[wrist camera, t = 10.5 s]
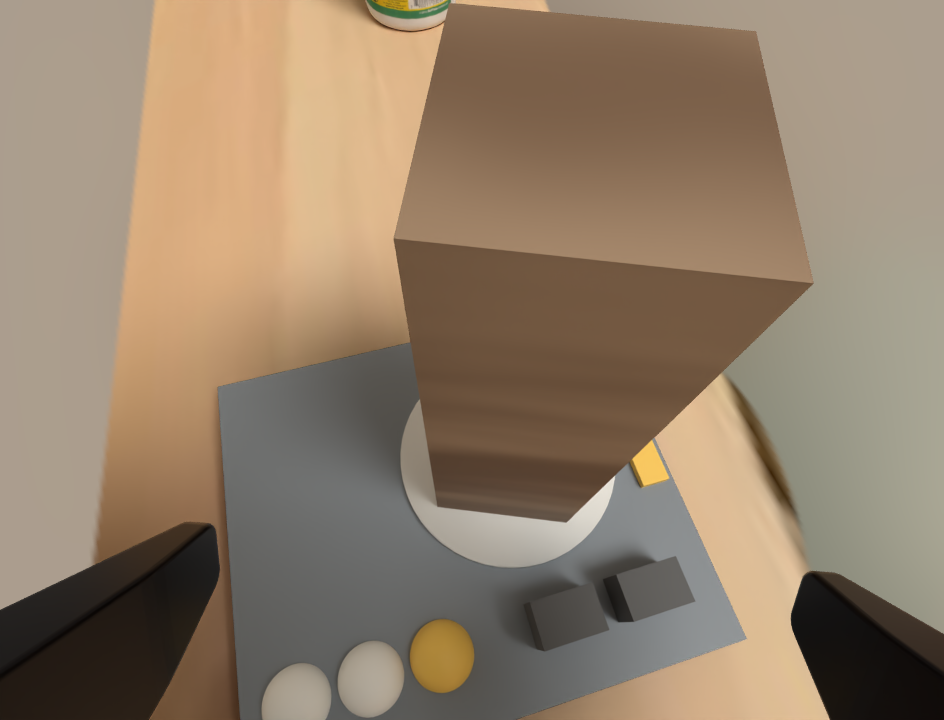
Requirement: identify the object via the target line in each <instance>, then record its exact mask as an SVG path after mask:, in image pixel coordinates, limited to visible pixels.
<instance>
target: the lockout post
mask: <svg viewBox="0 0 944 720" xmlns="http://www.w3.org/2000/svg"><path fill="white" fill-rule="evenodd" d="M394 243H395V249H396V256H397V262H398V268H399V274H400V280H401V286H402V292H403V299H404V305H405V311H406V317H407V323H408V329H409V335H410V342H411V348H412V354H413V360H414V366H415V372H416V378H417V385H418V391H419V397H420V403H421V409H422V415H423V422H424V428H425V434H426V440H427V446H428V452H429V458H430V465H431V471H432V477H433V483H434V489H435V495H436V501H437V507H441V508H450V509H458V510H466V511H474V512H482V513H491V514H499V515H507V516H515V517H523V518H531V519H540V520H548V521H556V522H564V523H567V522H568V521H569V520H570V519H571V518H572V517H573V516H574V515H575V514H576V513H577V512H578V511H579V510H580V509H581V508H582V507H583V506H584V505H585V504H586V503H587V502H588V501H589V500H590V499H591V498H592V497H593V496H595V495H596V494H597V493H598V492H599V491H600V490H601V489H602V488H603V487H604V486H605V485H606V484H607V483H608V482H609V481H610V480H611V479H612V478H613V477H614V476H615V475H616V474H617V473H618V472H619V471H620V470H621V469H622V468H623V467H624V466H626V465H627V464H628V463H629V462H630V461H631V460H632V459H633V458H634V457H635V456H636V455H637V454H638V453H639V452H640V451H641V450H642V449H643V448H644V447H645V446H646V445H647V444H648V443H649V442H650V441H651V440H652V439H653V438H654V437H655V436H656V435H658V434H659V433H660V432H661V431H662V430H663V429H664V428H665V427H666V426H667V425H668V424H669V423H670V422H671V421H672V420H673V419H674V418H675V417H676V416H677V415H678V414H679V413H680V412H681V411H682V410H683V409H684V408H685V407H686V406H687V405H689V404H690V403H691V402H692V401H693V400H694V399H695V398H696V397H697V396H698V395H699V394H700V393H701V392H702V391H703V390H704V389H705V388H706V387H707V386H708V385H709V384H710V383H711V382H712V381H713V380H714V379H715V378H716V377H717V376H718V375H719V374H721V373H722V372H723V371H724V370H725V369H726V368H727V367H728V366H729V365H730V364H731V363H732V362H733V361H734V360H735V359H736V358H737V357H738V356H739V355H740V354H741V353H742V352H743V351H744V350H745V349H746V348H747V347H748V346H749V345H750V344H751V343H753V342H754V341H755V339H757V338H758V337H759V336H760V335H761V334H762V333H763V332H764V331H765V330H766V329H767V328H768V327H769V326H770V325H771V324H772V323H773V322H774V321H775V320H776V319H777V318H778V317H779V316H780V315H781V314H782V313H783V312H785V311H786V310H787V309H788V308H789V307H790V306H791V305H792V304H793V303H794V302H795V301H796V300H797V299H798V298H799V297H800V296H801V295H802V294H803V293H804V292H805V291H806V290H807V289H808V288H809V287H810V286H811V285H812V284H813V278H812V274H811V269H810V265H809V261H808V257H807V252H806V248H805V244H804V239H803V235H802V230H801V226H800V221H799V217H798V213H797V209H796V204H795V200H794V195H793V191H792V187H791V182H790V178H789V174H788V169H787V165H786V160H785V156H784V152H783V148H782V143H781V139H780V134H779V130H778V125H777V121H776V117H775V113H774V108H773V104H772V100H771V95H770V91H769V86H768V82H767V78H766V74H765V69H764V65H763V60H762V56H761V51H760V47H759V43H758V39H757V34H756V31H745V30H735V29H724V28H713V27H702V26H692V25H681V24H670V23H659V22H648V21H638V20H627V19H616V18H605V17H595V16H584V15H573V14H563V13H552V12H541V11H530V10H520V9H509V8H498V7H487V6H477V5H466V4H455V3H449V6H448V10H447V14H446V19H445V23H444V27H443V31H442V36H441V40H440V44H439V48H438V53H437V57H436V61H435V65H434V70H433V74H432V78H431V82H430V87H429V91H428V95H427V99H426V103H425V108H424V112H423V116H422V120H421V125H420V129H419V133H418V137H417V142H416V146H415V150H414V154H413V159H412V163H411V167H410V171H409V176H408V180H407V184H406V188H405V193H404V197H403V201H402V205H401V210H400V214H399V218H398V222H397V227H396V231H395V235H394Z"/></svg>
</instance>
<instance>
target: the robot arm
mask: <svg viewBox="0 0 944 720" xmlns="http://www.w3.org/2000/svg"><path fill="white" fill-rule="evenodd" d="M219 571H220V565H219V555H218V546H217V536H216V530H215V528H214V526H213V525H211V524H209V523H198V522H184V523H182V524H180V525H177V526H175V527H173V528H171V529H169V530H167V531H165V532H163V533H161V534H159V535H156V536H154V537H152V538H150V539H148V540H146V541H144V542H142V543H140V544H138V545H135V546H133V547H131V548H129V549H127V550H125V551H123V552H121V553H119V554H117V555H114V556H112V557H110V558H108V559H106V560H104V561H102V562H100V563H98V564H96V565H93V566H91V567H89V568H87V569H85V570H83V571H81V572H79V573H77V574H75V575H73V576H70V577H68V578H66V579H64V580H62V581H60V582H58V583H56V584H54V585H51V586H49V587H47V588H45V589H43V590H41V591H39V592H37V593H35V594H33V595H31V596H28V597H26V598H24V599H22V600H20V601H18V602H16V603H14V604H12V605H9V606H7V607H5V608H3V609H1V610H0V720H149V718H150V716H151V715H152V713H153V711H154V710H155V708H156V706H157V705H158V703H159V701H160V699H161V698H162V696H163V694H164V692H165V690H166V689H167V687H168V685H169V683H170V681H171V679H172V677H173V675H174V673H175V671H176V669H177V667H178V665H179V663H180V661H181V659H182V657H183V655H184V653H185V650H186V648H187V646H188V644H189V642H190V640H191V638H192V636H193V633H194V631H195V629H196V627H197V625H198V623H199V621H200V618H201V616H202V614H203V612H204V610H205V608H206V606H207V604H208V601H209V599H210V597H211V595H212V593H213V591H214V589H215V587H216V584H217V581H218V578H219ZM791 626H792V630H793V633H794V635H795V638H796V640H797V642H798V645H799V647H800V650H801V652H802V654H803V657H804V659H805V661H806V664H807V666H808V669H809V671H810V673H811V676H812V678H813V681H814V683H815V685H816V688H817V690H818V692H819V695H820V697H821V700H822V702H823V704H824V707H825V709H826V711H827V714H828V716H829V719H830V720H944V634H943V633H941V632H939V631H938V630H936V629H934V628H932V627H931V626H929V625H927V624H925V623H924V622H922V621H920V620H918V619H917V618H915V617H913V616H911V615H910V614H908V613H906V612H904V611H902V610H901V609H899V608H897V607H896V606H894V605H892V604H891V603H889V602H887V601H885V600H883V599H882V598H880V597H878V596H877V595H875V594H873V593H871V592H870V591H868V590H866V589H864V588H863V587H861V586H859V585H857V584H856V583H854V582H852V581H851V580H848V579H847V578H845V577H844V576H842V575H840V574H837V573H832V572H820V571H809V572H807V573H806V574H805V575H804V576H803V578H802V580H801V584H800V587H799V590H798V593H797V596H796V600H795V603H794V606H793V609H792V613H791Z"/></svg>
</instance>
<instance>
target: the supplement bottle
mask: <svg viewBox="0 0 944 720" xmlns="http://www.w3.org/2000/svg"><path fill="white" fill-rule="evenodd" d="M365 1H366V4H367V7H368V9H369V11H370V13H371V14H372V16H373V17H374V18H375V19H376V20H377V21H379V22H380V23H382V24H384V25H386V26H388V27H391V28H394V29H399V30H407V31H417V30H424V29H428V28H432V27H435V26H437V25H439V24H441V23H442V22H444V21H445V19H446V14H447V10H448V6H449V3H456V0H365Z"/></svg>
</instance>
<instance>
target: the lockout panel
mask: <svg viewBox="0 0 944 720" xmlns="http://www.w3.org/2000/svg"><path fill="white" fill-rule="evenodd" d="M218 400H219V415H220V429H221V444H222V459H223V474H224V488H225V503H226V518H227V533H228V547H229V562H230V577H231V592H232V607H233V621H234V636H235V651H236V666H237V680H238V695H239V710H240V720H516V719H519V718H522V717H525V716H528V715H531V714H534V713H536V712H539V711H542V710H545V709H548V708H551V707H554V706H556V705H559V704H562V703H565V702H568V701H571V700H574V699H577V698H579V697H582V696H585V695H588V694H591V693H594V692H597V691H599V690H602V689H605V688H608V687H611V686H614V685H617V684H619V683H622V682H625V681H628V680H631V679H634V678H637V677H639V676H642V675H645V674H648V673H651V672H654V671H657V670H659V669H662V668H665V667H668V666H671V665H674V664H677V663H680V662H682V661H685V660H688V659H691V658H694V657H697V656H700V655H702V654H705V653H708V652H711V651H714V650H717V649H720V648H722V647H725V646H728V645H731V644H734V643H737V642H740V641H742V640H745V639H747V638H746V636H745V634H744V632H743V630H742V627H741V625H740V623H739V621H738V619H737V616H736V614H735V612H734V610H733V608H732V606H731V603H730V601H729V599H728V597H727V595H726V593H725V590H724V588H723V586H722V584H721V582H720V580H719V577H718V575H717V573H716V571H715V569H714V566H713V564H712V562H711V560H710V558H709V556H708V553H707V551H706V549H705V547H704V545H703V543H702V540H701V538H700V536H699V534H698V532H697V529H696V527H695V525H694V523H693V521H692V519H691V516H690V514H689V512H688V510H687V508H686V506H685V503H684V501H683V499H682V497H681V495H680V493H679V490H678V488H677V486H676V484H675V482H674V479H673V477H672V475H671V473H670V471H669V469H668V466H667V464H666V462H665V460H664V458H663V456H662V453H661V451H660V449H659V447H658V445H657V442H656V440H655V438H653V439H652V440H651V441H650V442H649V443H648V444H647V445H646V446H645V447H644V448H643V449H642V450H641V451H640V452H639V453H638V454H637V455H636V456H635V457H634V458H633V459H632V460H631V461H630V462H629V463H628V464H627V465H626V466H624V467H623V468H622V469H621V470H620V471H619V472H618V473H617V474H616V475H615V476H614V477H613V478H612V479H611V480H610V481H609V482H608V483H607V484H606V485H605V486H604V487H603V488H602V489H601V490H600V491H599V492H598V493H597V494H596V495H595V496H593V497H592V498H591V499H590V500H589V501H588V502H587V503H586V504H585V505H584V506H583V507H582V508H581V509H580V510H579V511H578V512H577V513H576V514H575V515H574V516H573V517H572V518H571V519H570V520H569V521H568V522H567V523H564V522H556V521H548V520H540V519H531V518H523V517H515V516H507V515H499V514H491V513H482V512H474V511H466V510H458V509H450V508H441V507H437V501H436V495H435V489H434V483H433V477H432V471H431V465H430V458H429V452H428V446H427V440H426V434H425V428H424V422H423V415H422V409H421V403H420V397H419V391H418V385H417V378H416V372H415V366H414V360H413V354H412V348H411V342H410V343H406V344H401V345H397V346H393V347H388V348H384V349H380V350H375V351H371V352H367V353H362V354H358V355H354V356H349V357H345V358H341V359H336V360H332V361H328V362H323V363H319V364H315V365H310V366H306V367H302V368H297V369H293V370H289V371H284V372H280V373H276V374H271V375H267V376H263V377H258V378H254V379H250V380H245V381H241V382H237V383H232V384H228V385H224V386H219V387H218Z"/></svg>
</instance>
